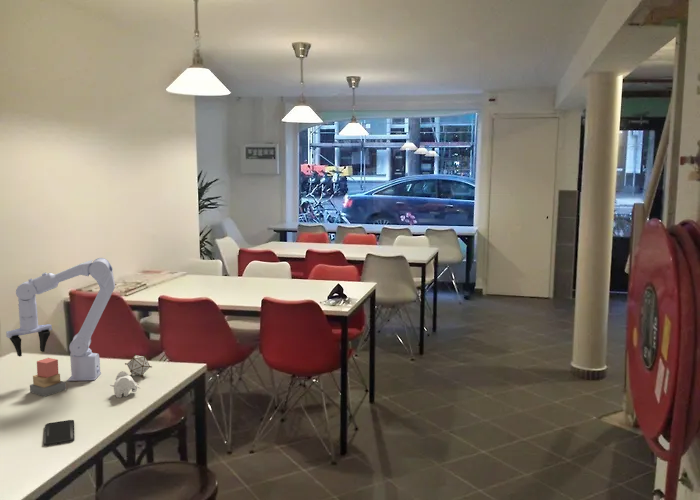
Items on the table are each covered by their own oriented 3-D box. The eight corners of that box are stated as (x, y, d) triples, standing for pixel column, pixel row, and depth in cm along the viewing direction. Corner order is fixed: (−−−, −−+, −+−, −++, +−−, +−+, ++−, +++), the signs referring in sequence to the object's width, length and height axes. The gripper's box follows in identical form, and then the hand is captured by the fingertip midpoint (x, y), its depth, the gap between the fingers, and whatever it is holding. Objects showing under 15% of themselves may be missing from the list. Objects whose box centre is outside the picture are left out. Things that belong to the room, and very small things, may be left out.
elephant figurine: (141, 396, 209) (140, 375, 208) (110, 400, 205) (109, 379, 204) (139, 388, 216) (138, 368, 215) (110, 392, 212) (108, 372, 211)
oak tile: (49, 379, 218) (49, 371, 217) (60, 382, 215) (59, 373, 214) (33, 384, 213) (32, 375, 212) (44, 387, 210) (43, 379, 209)
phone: (73, 419, 188) (74, 439, 174) (74, 422, 188) (74, 442, 175) (44, 423, 185) (43, 444, 171) (45, 427, 185) (43, 448, 171)
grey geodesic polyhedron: (144, 384, 231) (160, 362, 231) (130, 383, 223) (147, 361, 223) (130, 369, 234) (146, 348, 234) (115, 368, 226) (132, 346, 226)
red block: (49, 371, 216) (48, 357, 216) (58, 373, 214) (57, 359, 214) (37, 375, 212) (36, 361, 212) (46, 377, 210) (46, 363, 210)
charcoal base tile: (52, 386, 219) (51, 378, 219) (66, 390, 215) (65, 382, 215) (30, 393, 213) (29, 385, 212) (44, 397, 209) (44, 389, 208)
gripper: (10, 321, 211) (13, 360, 213) (54, 314, 222) (56, 351, 224) (3, 318, 216) (5, 356, 218) (46, 311, 227) (49, 347, 229)
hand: (31, 353), depth 221 cm, fingers open, 7 cm apart
